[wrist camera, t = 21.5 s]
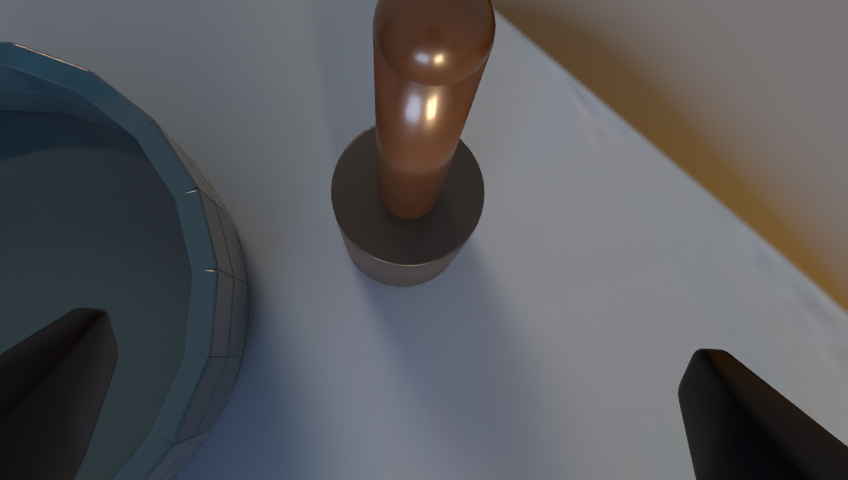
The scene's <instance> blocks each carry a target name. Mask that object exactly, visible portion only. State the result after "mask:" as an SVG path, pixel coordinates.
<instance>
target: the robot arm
mask: <svg viewBox="0 0 848 480" xmlns="http://www.w3.org/2000/svg"><path fill="white" fill-rule="evenodd" d="M117 360H118V348H117V344H116V340H115V336H114V332H113V328H112V324H111V320H110V317H109V314H108V313H107V311H105V310H103V309H95V308H76V309H74V310H72V311H70V312H68V313H67V314H65V315H63V316H62V317H60V318H59V319H57V320H55V321H54V322H52V323H50V324H49V325H47V326H46V327H44V328H42V329H41V330H39V331H37V332H36V333H34V334H33V335H31V336H29V337H28V338H26V339H24V340H23V341H21V342H20V343H18V344H16V345H15V346H13V347H11V348H10V349H8V350H7V351H5V352H3V353H2V354H0V480H74V479H75V477H76V475H77V473H78V471H79V469H80V466H81V464H82V462H83V460H84V457H85V455H86V452H87V449H88V447H89V444H90V441H91V438H92V435H93V432H94V429H95V427H96V424H97V421H98V418H99V415H100V412H101V409H102V406H103V403H104V400H105V397H106V394H107V391H108V388H109V385H110V382H111V379H112V376H113V374H114V371H115V368H116V364H117ZM678 397H679V403H680V408H681V412H682V417H683V422H684V426H685V431H686V435H687V440H688V445H689V449H690V454H691V458H692V463H693V468H694V472H695V477H696V480H848V447H847V446H846V445H845V444H843V443H842V442H841V441H840V440H838V439H837V438H836V437H834V436H833V435H832V434H831V433H829V432H828V431H827V430H826V429H824V428H823V427H822V426H821V425H819V424H818V423H817V422H815V421H814V420H813V419H812V418H810V417H809V416H808V415H807V414H805V413H804V412H803V411H802V410H800V409H799V408H798V407H796V406H795V405H794V404H793V403H791V402H790V401H789V400H788V399H786V398H785V397H784V396H783V395H781V394H780V393H779V392H777V391H776V390H775V389H774V388H772V387H771V386H770V385H769V384H767V383H766V382H765V381H764V380H762V379H761V378H760V377H758V376H757V375H756V374H755V373H753V372H752V371H751V370H750V369H748V368H747V367H746V366H745V365H743V364H742V363H741V362H739V361H738V360H737V359H736V358H734V357H733V356H732V355H731V354H729V353H728V352H726V351H724V350H719V349H704V348H702V349H698V350H697V351H695V352H694V354H693V356H692V358H691V360H690V362H689V364H688V367H687V369H686V371H685V373H684V375H683V378H682V380H681V382H680V385H679V390H678Z"/></svg>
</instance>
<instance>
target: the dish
mask: <svg viewBox="0 0 848 480" xmlns="http://www.w3.org/2000/svg"><path fill="white" fill-rule="evenodd" d="M76 308H95V309H103V310H105V311H107V313H108V314H109V317H110V320H111V324H112V328H113V332H114V336H115V340H116V344H117V348H118V360H117V364H116V368H115V371H114V374H113V376H112V379H111V382H110V385H109V388H108V391H107V394H106V397H105V400H104V403H103V406H102V409H101V412H100V415H99V418H98V421H97V424H96V427H95V429H94V432H93V435H92V438H91V441H90V444H89V447H88V449H87V452H86V455H85V457H84V460H83V462H82V464H81V466H80V469H79V471H78V473H77V475H76V477H75V479H74V480H172V479H173V478H174V477H175V476H176V475H177V474H178V472H179V471H180V470H181V469H182V468H183V467H184V466H185V465H186V464H187V463H188V462H189V460H190V459H191V458H192V457H193V456H194V454H195V453H196V452H197V450H198V449H199V447H200V446H201V445H202V443H203V442H204V440H205V439H206V437H207V436H208V435H209V433H210V432H211V430H212V429H213V427H214V425H215V423H216V421H217V419H218V417H219V416H220V414H221V412H222V410H223V408H224V406H225V405H226V403H227V400H228V398H229V395H230V392H231V390H232V387H233V385H234V382H235V380H236V377H237V374H238V371H239V367H240V363H241V359H242V355H243V351H244V347H245V341H246V332H247V323H248V283H247V276H246V270H245V263H244V257H243V254H242V250H241V247H240V244H239V240H238V237H237V233H236V230H235V228H234V226H233V224H232V222H231V218H230V217H229V214H228V212H227V211H226V208H225V206H224V205H223V203H222V201H221V200H220V198H219V197H218V195H217V194H216V192H215V190H214V189H213V187H212V186H211V184H210V183H209V181H208V180H207V179H206V178H205V177H204V176H203V174H202V172H201V171H200V169H199V168H198V166H197V165H196V163H195V162H194V160H193V159H192V158H191V157H190V156H189V155H188V154H187V153H186V152H185V151H184V150H183V149H182V148H181V147H180V146H179V145H178V144H177V143H176V142H175V141H174V140H173V139H172V138H171V137H170V136H169V135H168V134H167V132H166V131H165V130H164V129H163V128H162V127H161V126H160V125H159V124H158V123H157V122H156V121H155V120H154V119H153V118H151V117H150V116H149V115H148V114H146V113H145V112H144V111H142V110H141V109H140V108H139V107H137V106H136V105H135V104H133V103H132V102H131V101H130V100H128V99H127V98H126V97H124V96H123V95H122V94H121V93H119V92H118V91H117V90H115V89H114V88H113V87H112V86H110V85H109V84H108V83H106V82H105V81H104V80H103V79H101V78H100V77H99V76H97V75H96V74H95V73H94V72H91V71H90V70H88V69H85V68H82V67H79V66H77V65H74V64H71V63H68V62H66V61H63V60H60V59H57V58H54V57H52V56H49V55H46V54H43V53H41V52H38V51H35V50H32V49H30V48H27V47H24V46H21V45H18V44H16V43H11V42H0V354H2V353H3V352H5V351H7V350H8V349H10V348H11V347H13V346H15V345H16V344H18V343H20V342H21V341H23V340H24V339H26V338H28V337H29V336H31V335H33V334H34V333H36V332H37V331H39V330H41V329H42V328H44V327H46V326H47V325H49V324H50V323H52V322H54V321H55V320H57V319H59V318H60V317H62V316H63V315H65V314H67V313H68V312H70V311H72V310H74V309H76Z"/></svg>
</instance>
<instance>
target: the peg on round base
mask: <svg viewBox="0 0 848 480" xmlns="http://www.w3.org/2000/svg"><path fill="white" fill-rule="evenodd" d="M495 27H496V24H495V15H494V11H493V7H492V4H491V1H490V0H378V3H377V6H376V8H375V14H374V20H373V47H374V81H375V115H376V125H374V126H372V127H370V128H369V129H367V130H365V131H363V132H362V133H361V134H360V135H358V136H357V137H356V138H355V139H354V140H353V141H352V142H351V143H350V144H349V145H348V146H347V148H346V149H345V150H344V152H343V153H342V155H341V157H340V158H339V160H338V163H337V165H336V168H335V171H334V174H333V178H332V187H331V196H332V204H333V209H334V213H335V216H336V219H337V222H338V225H339V228H340V231H341V234H342V237H343V240H344V242H345V245H346V248H347V251H348V253H349V255H350V257H351V258H352V260H353V261H354V263H355V264H356V265H357V266H358V268H359V269H360V270H361V271H363V272H364V273H365V274H366V275H368V276H369V277H370V278H372V279H374V280H376V281H378V282H380V283H383V284H386V285H391V286H398V287H409V286H415V285H419V284H422V283H425V282H427V281H429V280H431V279H433V278H435V277H436V276H438V275H439V274H440V273H441V272H443V271H444V270H445V269H446V267H447V266H448V265H449V264H450V263H451V261H452V260H453V259H454V257H455V256H456V255H457V253H458V252H459V251H460V249H461V248H462V247H463V245H464V244H465V243H466V241H467V240H468V239H469V237H470V236H471V234H472V233H473V231H474V230H475V228H476V226H477V224H478V222H479V219H480V216H481V213H482V209H483V204H484V183H483V178H482V174H481V171H480V168H479V165H478V163H477V161H476V159H475V157H474V155H473V154H472V152H471V151H470V149H469V148H468V147H467V146H466V145H465V144H464V142H463V141H462V140H460V136H461V133H462V130H463V128H464V125H465V122H466V119H467V117H468V114H469V111H470V108H471V105H472V103H473V100H474V97H475V94H476V91H477V89H478V86H479V83H480V80H481V77H482V75H483V72H484V69H485V66H486V63H487V61H488V58H489V55H490V52H491V49H492V47H493V43H494V36H495Z"/></svg>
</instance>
